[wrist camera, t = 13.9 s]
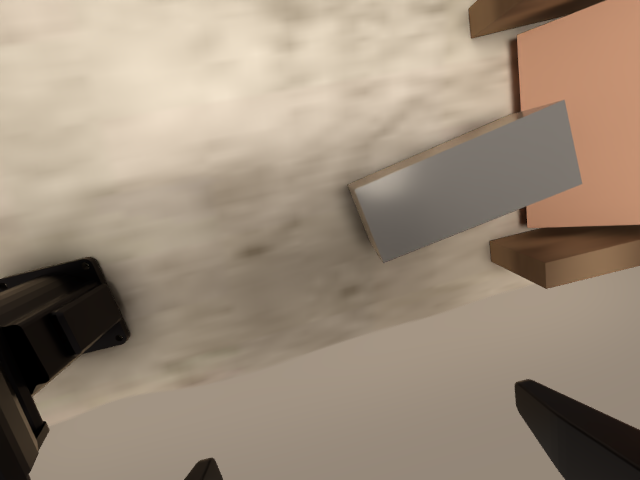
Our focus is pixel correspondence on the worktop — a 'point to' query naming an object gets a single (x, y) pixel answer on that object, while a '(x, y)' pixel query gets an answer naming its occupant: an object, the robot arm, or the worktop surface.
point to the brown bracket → (554, 242)
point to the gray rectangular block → (468, 180)
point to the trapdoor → (590, 109)
